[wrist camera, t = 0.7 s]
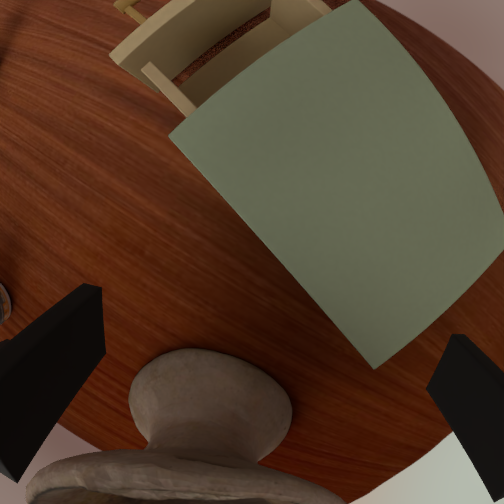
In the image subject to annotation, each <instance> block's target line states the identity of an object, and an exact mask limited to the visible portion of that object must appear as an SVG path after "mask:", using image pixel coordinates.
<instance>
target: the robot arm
mask: <svg viewBox="0 0 504 504" xmlns="http://www.w3.org/2000/svg"><path fill="white" fill-rule="evenodd" d="M105 354H106V348H105V337H104V324H103V307H102V287H98V286H94V285H89V284H85V283H83V284H82V285H80V286H79V287H78V288H76V289H75V290H74V291H72V292H71V293H70V294H68V295H67V296H66V297H64V298H63V299H62V300H60V301H59V302H58V303H56V304H55V305H54V306H52V307H51V308H50V309H49V310H47V311H46V312H45V313H43V314H42V315H41V316H40V317H38V318H37V319H36V320H35V321H33V322H32V323H31V324H30V325H28V326H27V327H26V328H25V329H24V330H22V331H21V332H20V333H19V334H17V335H16V336H15V337H14V338H13V339H11V340H8V339H6V340H4V341H1V342H0V473H2V474H3V475H5V476H7V477H8V478H10V479H11V480H13V481H14V482H16V483H18V482H19V480H20V478H21V477H22V475H23V474H24V472H25V470H26V469H27V467H28V466H29V464H30V462H31V461H32V459H33V457H34V456H35V455H36V453H37V451H38V450H39V448H40V447H41V445H42V444H43V442H44V441H45V439H46V438H47V436H48V434H49V433H50V431H51V430H52V429H53V427H54V426H55V424H56V423H57V421H58V420H59V418H60V417H61V415H62V414H63V412H64V411H65V409H66V408H67V407H68V405H69V404H70V402H71V401H72V399H73V398H74V397H75V395H76V394H77V392H78V391H79V390H80V388H81V387H82V385H83V384H84V383H85V381H86V380H87V378H88V377H89V376H90V374H91V373H92V371H93V370H94V369H95V367H96V366H97V365H98V363H99V362H100V361H101V359H102V358H103V357H104V355H105ZM426 390H427V391H428V393H429V394H430V396H431V397H432V399H433V400H434V402H435V403H436V405H437V406H438V408H439V410H440V411H441V413H442V414H443V416H444V417H445V419H446V421H447V422H448V424H449V425H450V427H451V429H452V430H453V432H454V433H455V435H456V436H457V438H458V440H459V441H460V443H461V445H462V446H463V448H464V450H465V451H466V453H467V455H468V456H469V458H470V460H471V461H472V463H473V465H474V467H475V469H476V470H477V472H478V474H479V476H480V477H481V479H482V481H483V483H484V485H485V486H486V488H487V490H488V492H489V494H490V496H491V498H492V499H493V501H494V502H496V501H498V500H499V499H502V498H504V373H503V371H502V370H501V369H500V368H499V367H498V366H497V365H496V364H495V363H494V362H493V361H492V360H491V359H490V358H489V357H488V356H487V355H485V354H484V353H483V352H482V351H481V350H480V349H479V348H478V347H477V346H476V345H475V344H474V343H473V342H472V341H471V340H470V339H469V338H468V337H467V336H466V335H465V334H452V335H451V337H450V340H449V342H448V344H447V347H446V349H445V351H444V353H443V355H442V357H441V360H440V362H439V364H438V366H437V368H436V370H435V372H434V374H433V376H432V378H431V380H430V382H429V384H428V386H427V388H426Z"/></svg>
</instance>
